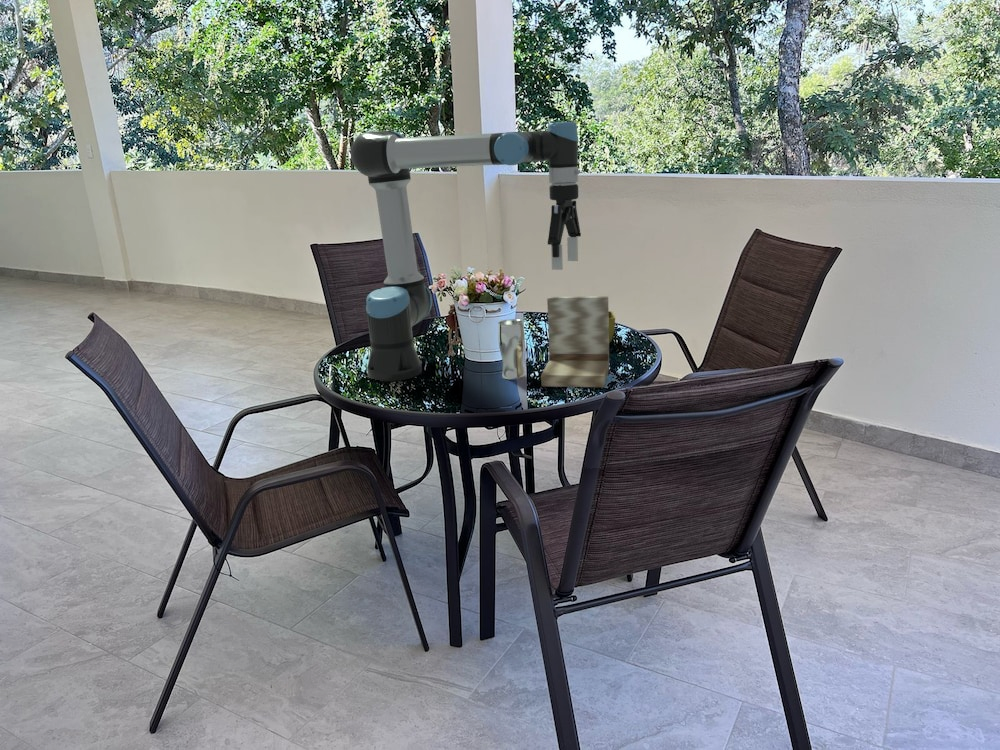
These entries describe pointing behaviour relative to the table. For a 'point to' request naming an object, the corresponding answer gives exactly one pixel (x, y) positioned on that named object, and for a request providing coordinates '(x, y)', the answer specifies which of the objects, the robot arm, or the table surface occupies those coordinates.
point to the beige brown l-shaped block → (577, 342)
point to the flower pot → (611, 325)
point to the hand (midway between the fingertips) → (565, 265)
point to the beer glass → (511, 348)
